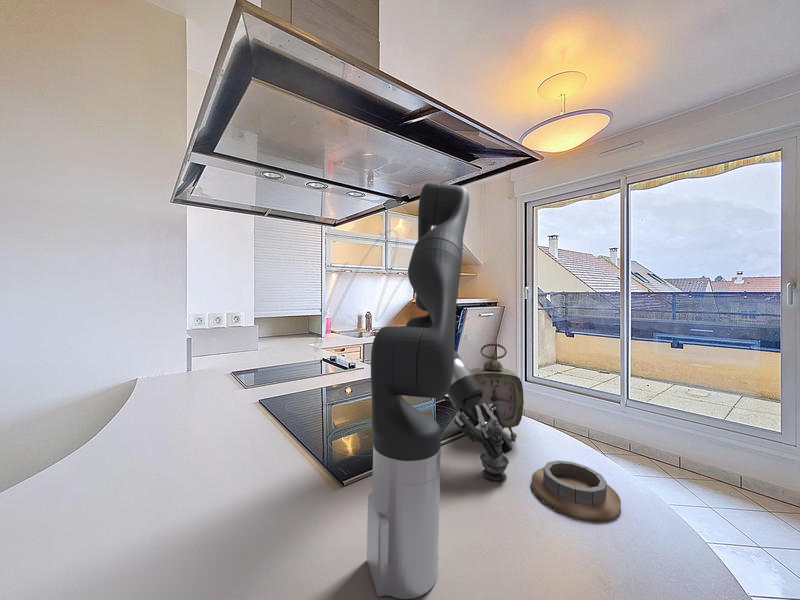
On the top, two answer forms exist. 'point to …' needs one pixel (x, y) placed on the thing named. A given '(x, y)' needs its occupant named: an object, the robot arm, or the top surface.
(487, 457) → the grey tall piece
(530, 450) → the top surface
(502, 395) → the tabletop clock
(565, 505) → the socket stand
